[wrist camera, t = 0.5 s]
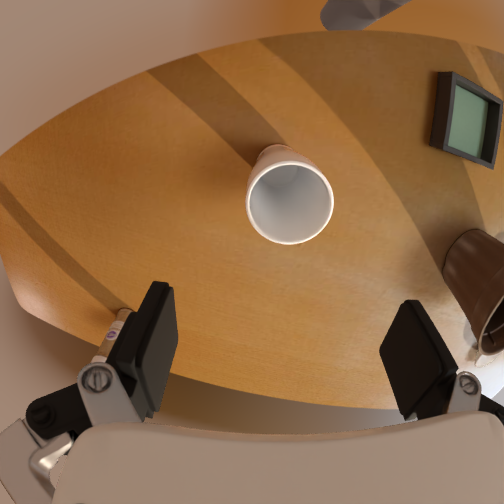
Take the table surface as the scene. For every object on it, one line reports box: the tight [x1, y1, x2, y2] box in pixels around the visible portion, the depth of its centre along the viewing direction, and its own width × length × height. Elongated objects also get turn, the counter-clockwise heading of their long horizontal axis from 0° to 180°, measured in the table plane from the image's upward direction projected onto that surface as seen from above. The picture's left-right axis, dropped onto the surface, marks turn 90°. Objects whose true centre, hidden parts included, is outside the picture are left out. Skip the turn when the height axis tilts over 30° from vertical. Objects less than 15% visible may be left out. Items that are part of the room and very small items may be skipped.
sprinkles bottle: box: [91, 309, 132, 363], centre depth 41 cm, size 5×5×13 cm
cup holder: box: [429, 72, 503, 170], centre depth 27 cm, size 11×11×4 cm
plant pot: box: [443, 230, 504, 356], centre depth 32 cm, size 16×16×16 cm
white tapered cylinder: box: [245, 144, 334, 244], centre depth 27 cm, size 7×7×15 cm
